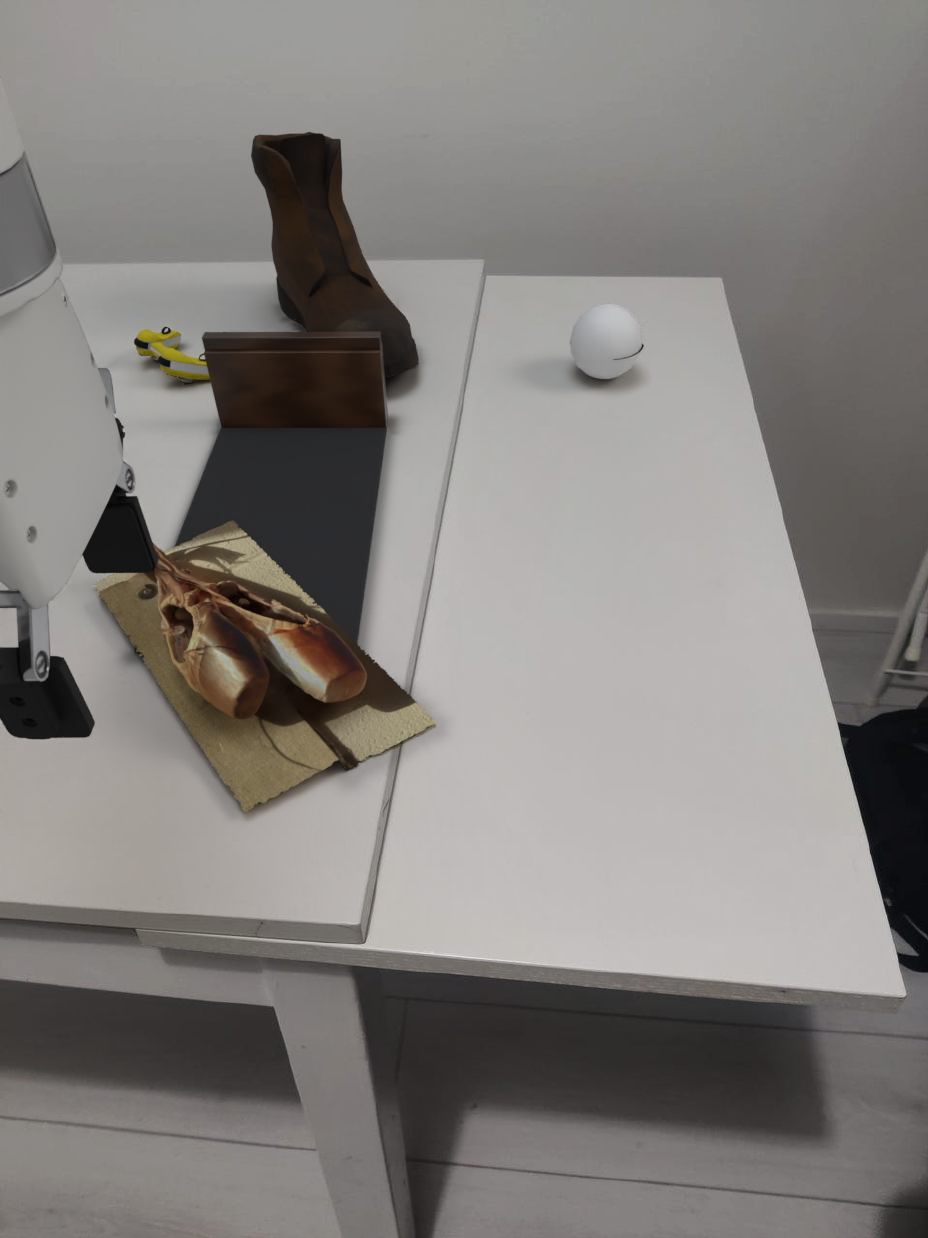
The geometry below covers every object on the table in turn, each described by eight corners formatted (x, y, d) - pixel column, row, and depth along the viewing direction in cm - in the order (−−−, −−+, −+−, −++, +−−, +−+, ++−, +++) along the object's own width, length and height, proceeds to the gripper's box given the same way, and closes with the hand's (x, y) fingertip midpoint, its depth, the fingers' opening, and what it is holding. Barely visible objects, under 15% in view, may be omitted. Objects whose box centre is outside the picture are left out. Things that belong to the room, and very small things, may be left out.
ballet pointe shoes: (239, 781, 48) (42, 530, 63) (263, 842, 52) (75, 595, 68) (434, 655, 53) (211, 453, 68) (440, 720, 58) (230, 518, 73)
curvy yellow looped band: (122, 354, 93) (125, 321, 92) (177, 357, 98) (181, 325, 96) (167, 389, 88) (171, 355, 86) (223, 390, 92) (228, 358, 91)
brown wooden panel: (221, 429, 85) (200, 339, 78) (225, 418, 86) (205, 329, 80) (386, 428, 84) (379, 339, 78) (388, 417, 86) (381, 329, 79)
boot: (350, 411, 87) (325, 201, 73) (257, 296, 106) (224, 111, 92) (449, 384, 90) (444, 179, 76) (342, 277, 109) (322, 97, 95)
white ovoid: (595, 400, 88) (602, 330, 83) (553, 368, 92) (557, 301, 87) (673, 374, 91) (684, 306, 86) (629, 345, 96) (637, 279, 91)
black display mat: (135, 653, 63) (134, 650, 63) (221, 430, 84) (220, 427, 84) (355, 653, 63) (355, 650, 63) (386, 430, 84) (386, 427, 84)
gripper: (-81, 148, 32) (71, 520, 44) (-429, 386, 20) (-84, 816, 31) (123, 145, 32) (220, 519, 44) (-96, 382, 19) (123, 814, 31)
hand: (93, 642), depth 38 cm, fingers open, 9 cm apart
